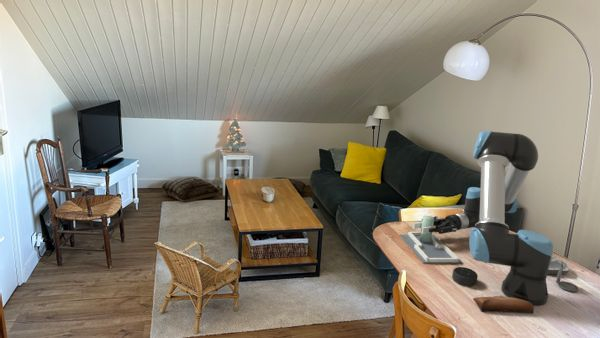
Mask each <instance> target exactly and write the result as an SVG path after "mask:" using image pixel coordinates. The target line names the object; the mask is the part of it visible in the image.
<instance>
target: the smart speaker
mask: <svg viewBox="0 0 600 338" xmlns="http://www.w3.org/2000/svg"><path fill="white" fill-rule="evenodd" d="M451 278H452V280H453V281H454V282H455V283H456V284H458V285H461V286H466V287H472V286H475V285H476V284H477V282H478V273H477V272H476V271H475V270H474V269H471V268H469V267H463V266H457V267H454V268H453V271H452V275H451Z"/></svg>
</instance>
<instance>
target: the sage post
mask: <svg viewBox="0 0 600 338" xmlns="http://www.w3.org/2000/svg"><path fill="white" fill-rule="evenodd" d="M434 217H435V216H431V215H423V216H422V218H421V222H422V226H421V228H420V232H421V233H420V241H422V242H426V243H429V242H431V237H432V235H433V232H431V233H425V234H422V228H423V227H429V226H433V224H434Z"/></svg>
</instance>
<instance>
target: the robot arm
mask: <svg viewBox="0 0 600 338" xmlns="http://www.w3.org/2000/svg"><path fill="white" fill-rule="evenodd" d="M472 156H473V159H475V160H477V165H478V166H479V167H480V169H481V170H480V187H475V186H471V187H468V188H467V192H466V195H465V201H464V209H463V212H461V213H454V214H449V215H446V216H445V218H438V216H436V215H435V216H433V217H434V224H433V226H429V227H423V228H422V234H425V233H431V232H432V233H435V234H436V233H438V234H440V235H441V234H442V235H443V234H449V233H456V232H457V231H460V230H465V229H466V230H467V229H470V232H469V241H468V243H469V250H470V251H469V252H470V255H471V257H472V258H473V259H474V260H475V261H477V262H481V263H485V264H493V265H494V264H495V265H500V266H507V267H510V270H509V272H508V273H507V275H506V276H505V278H504V280H502V282H501V287H500V289H501V291H502V293H503V294H504V295H505V297H513V298H518V299H522V300H525V301H528V302H530V303H532V305H533V306H543V305H545V304H546V303H547V302H548V297H549V293H548V286H547V276H548V274H547V273H548V269H549V264H550V260H551V256H553V249H554V243H553V242H552V240H551V239H550V238H548V237H547V236H545V235H544V234H541V233H539V232H536V231H533V230H530V229H519V230H518V231H517V234H516V233H510V227H509V225H508V224H507V223H505V220H506V218H505V214H506V213H510V214H514V213H515V212H517V209H518V204H519V203H518V202H519V201H518V199H517V195H518V194H519V192H520V190H521V188H522V187H523V184H524V182H525V181H526V179H527V176H528V175H529V174H530V173H529V172H530V171H532V170H534V168H535V167H536V165H537V163H538V160H539V151H538V148H537V146H536V144H535V143H534V141H533V140H532V139H531V138H530V137H528V136H526V135H524V134H521V133H511V132H501V131H493V130H490V131H489V130H482V131H481V132H479V133H478V136H477V138H476V141H475V146H474V149H473V155H472ZM508 166H509V167H508ZM506 167H508V170H507V172H506ZM421 226H422V221H418V222H413V225H412V229H413V230H416V229H421Z"/></svg>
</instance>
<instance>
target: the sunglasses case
mask: <svg viewBox="0 0 600 338" xmlns="http://www.w3.org/2000/svg"><path fill="white" fill-rule="evenodd" d="M472 300H473V302H474V303H475V305H476V306H477V307H478V309H479V310H480V312H481V311H482V312H500V311H501V312H515V313H516V312H517V313H519V312H520V313H531V314H533V313H534V311H535V308H534V305H532V303H530V302H528V301H525V300H522V299H518V298H513V297H508V296H506V295H505V296H503V295H499V296H498V295H495V296H480V297H479V296H478V297H473V298H472Z"/></svg>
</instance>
